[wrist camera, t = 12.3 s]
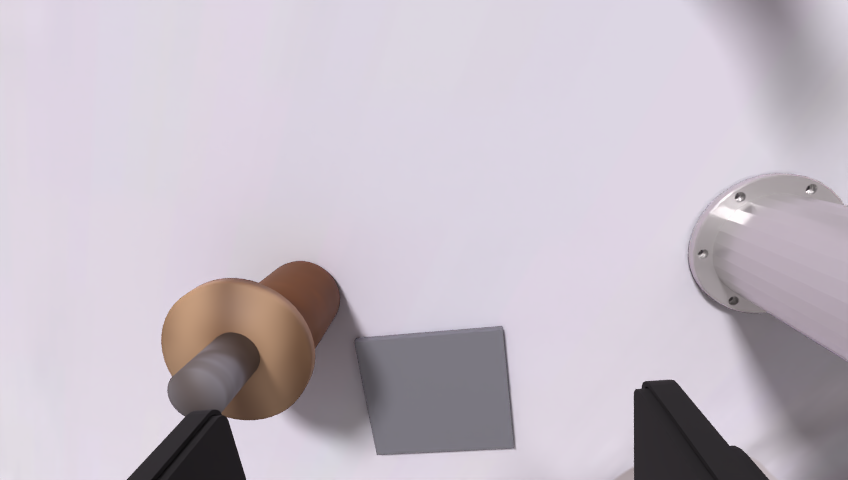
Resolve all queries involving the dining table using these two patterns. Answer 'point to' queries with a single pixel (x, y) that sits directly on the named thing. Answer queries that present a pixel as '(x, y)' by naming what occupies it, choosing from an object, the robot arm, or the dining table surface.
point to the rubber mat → (437, 391)
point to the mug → (307, 293)
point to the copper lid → (236, 350)
